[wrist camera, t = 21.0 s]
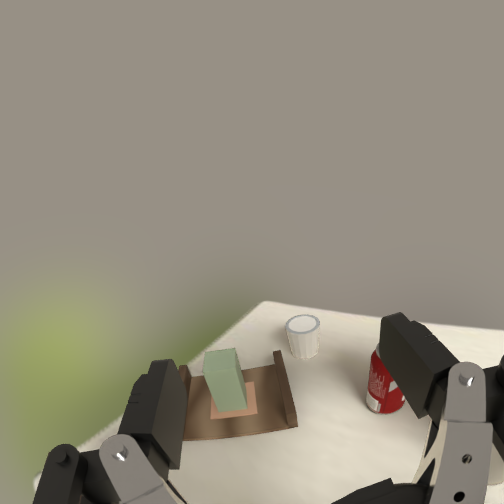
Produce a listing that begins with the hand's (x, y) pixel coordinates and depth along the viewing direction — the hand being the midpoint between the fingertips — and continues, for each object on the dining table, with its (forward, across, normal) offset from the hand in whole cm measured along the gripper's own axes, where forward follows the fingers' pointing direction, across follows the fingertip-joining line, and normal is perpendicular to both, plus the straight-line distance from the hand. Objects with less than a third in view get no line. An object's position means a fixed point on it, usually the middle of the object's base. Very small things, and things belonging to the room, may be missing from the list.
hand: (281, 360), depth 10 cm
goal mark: (+27, +8, +32) cm, 43 cm away
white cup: (+38, -7, +32) cm, 50 cm away
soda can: (+19, -17, +32) cm, 41 cm away
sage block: (+27, +8, +31) cm, 42 cm away
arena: (+27, +8, +32) cm, 43 cm away
